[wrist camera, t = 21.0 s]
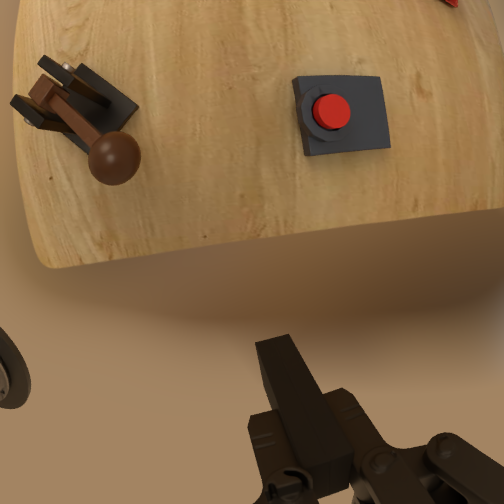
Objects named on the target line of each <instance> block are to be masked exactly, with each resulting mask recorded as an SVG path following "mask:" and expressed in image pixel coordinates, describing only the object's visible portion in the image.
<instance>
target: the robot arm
mask: <svg viewBox="0 0 504 504" xmlns="http://www.w3.org/2000/svg"><path fill="white" fill-rule="evenodd" d="M255 345H256V350H257V355H258V360H259V364H260V370H261V375H262V380H263V385H264V388H265V391H266V394H267V397H268V400H269V403H270V405H271V408H272V410H271V411H267V412H263V413H259V414H255V415H251V416H250V420H249V423H248V431H249V435H250V439H251V443H252V446H253V450H254V453H255V457H256V461H257V465H258V468H259V472H260V475H261V479H262V483H263V489H262V493H261V495H260V497H259V498H258V499H257V501H256V502H255V503H253V504H319V502H318V500H317V499H319V498H322V497H325V496H328V495H331V494H334V493H337V492H339V491H342V490H345V489H347V488H348V487H349V483H350V484H351V486H352V488H353V490H354V496H353V500H352V504H504V467H503V466H502V465H500V464H499V463H497V462H496V461H494V460H493V459H491V458H490V457H488V456H486V455H485V454H484V453H482V452H481V451H479V450H478V449H476V448H475V447H473V446H472V445H470V444H469V443H468V442H466V441H465V440H463V439H462V438H460V437H459V436H457V435H455V434H452V433H446V432H444V433H440V434H437V435H436V436H434V437H432V438H431V440H430V441H429V443H428V444H427V445H423V446H418V447H413V448H407V449H400V448H395V447H392V446H390V445H389V444H387V443H386V442H385V441H384V440H383V438H382V437H381V435H380V434H379V432H378V431H377V429H376V428H375V426H374V425H373V424H372V422H371V420H370V419H369V417H368V416H367V414H365V412H364V410H363V408H362V407H361V406H360V405H359V403H358V401H357V400H356V398H355V397H354V395H353V394H352V393H350V392H348V391H347V390H345V389H343V388H339V389H337V390H334V391H331V392H328V393H325V394H322V392H321V390H320V389H319V387H318V385H317V383H316V381H315V380H314V378H313V376H312V374H311V373H310V371H309V369H308V367H307V365H306V364H305V362H304V360H303V358H302V357H301V355H300V353H299V351H298V349H297V348H296V346H295V344H294V343H293V341H292V339H291V337H290V335H289V334H286V335H283V336H279V337H275V338H271V339H267V340H263V341H259V342H255ZM10 388H11V378H10V374H9V371H8V369H7V366H6V364H5V363H4V361H3V359H2V358H1V356H0V401H1V400H3V399H4V398H5V397H6V395H7V394H8V392H9V390H10Z"/></svg>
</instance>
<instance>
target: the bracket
mask: <svg viewBox="0 0 504 504" xmlns="http://www.w3.org/2000/svg"><path fill="white" fill-rule="evenodd" d="M37 64H38V65H39V66H40V67H41V68H43V69H44V70H45V71H47V72H48V73H49V74H50V75H52V76H53V77H54V78H56V79H57V80H58V81H59V82H61V83H62V84H63V86H62V87H63V88H64V89H66V90H67V91H68V92H69V93H70V95H69V97H68V98H67V99H66V101H67V102H68V103H69V104H70V105H72V106H73V107H74V108H75V109H76V110H77V111H78V112H79V113H80V114H81V115H82V116H83V117H84V118H85V119H86V120H87V121H89V122H90V123H91V124H92V125H93V126H94V127H95V128H96V129H97V130H98V131H99V132H100V133H101V134H102V135H104V134H106V133H109V132H114V131H120V130H121V128H122V127H123V126H124V125H125V123H126V122H127V121H128V120H129V118H130V117H131V116H132V115H133V114H134V112H135V111H136V110H137V109H138V108H139V106H138V105H137V104H135V103H134V102H133V101H132V100H130V99H129V98H128V97H126V96H125V95H124V94H123V93H121V92H120V91H119V90H117V89H116V88H115V87H113V86H112V85H111V84H109V83H108V82H107V81H105V80H104V79H103V78H101V77H100V76H99V75H97V74H96V73H95V72H93V71H92V70H91V69H89V68H88V67H87V66H85V65H84V64H83V63H81V64H80V65H79V66H78V67H77V69H74V68H73V67H72V66H70V65H69V64H68V63H66V62H64V63H63V64H62V66H61V65H60V64H58V63H57V62H55V61H54V60H52V59H51V58H49V57H48V56H46V55H43V57H42V58H41V59H40V60H39V62H38V63H37ZM10 105H11V106H12V107H14V108H15V109H16V110H17V111H18V112H19V113H20V114H21V115H23V116H24V121H25V122H26V123H28V124H29V125H31V126H35V127H36V128H37V129H42V130H50V131H57V132H62V133H63V134H64V135H65V136H66V137H68V138H69V139H70V140H71V141H72V142H74V143H75V144H76V145H77V146H78V147H80V148H81V149H82V150H83V151H84V152H86V153H87V154H88V155H89V152H90V149H91V148H90V147H89V146H88V145H87V144H86V143H85V142H84V141H83V140H82V139H81V138H80V137H79V136H78V135H77V134H76V133H75V132H74V131H73V130H72V129H71V128H70V126H69V125H68V124H67V123H66V122H65V121H64V120H63V119H62V118H61V117H60V116H59V115H58V114H57V113H56V114H53V113H51V112H49V111H47V110H45V109H43V108H41V107H39V106H38V105H37V104H36V103H35V102H34V101H33V99H30V98H27V97H24V96H20V95H17V94H15V96H14V97H13V99H12V101H11V102H10Z"/></svg>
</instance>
